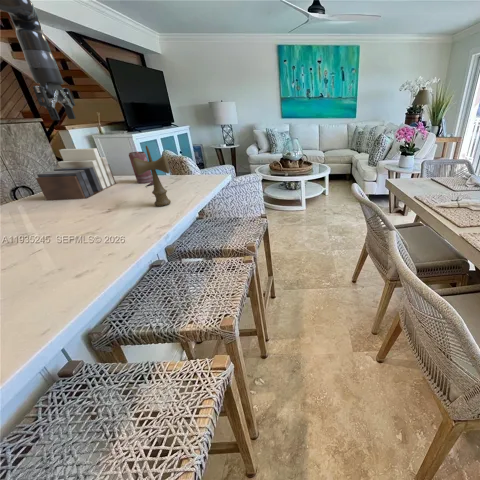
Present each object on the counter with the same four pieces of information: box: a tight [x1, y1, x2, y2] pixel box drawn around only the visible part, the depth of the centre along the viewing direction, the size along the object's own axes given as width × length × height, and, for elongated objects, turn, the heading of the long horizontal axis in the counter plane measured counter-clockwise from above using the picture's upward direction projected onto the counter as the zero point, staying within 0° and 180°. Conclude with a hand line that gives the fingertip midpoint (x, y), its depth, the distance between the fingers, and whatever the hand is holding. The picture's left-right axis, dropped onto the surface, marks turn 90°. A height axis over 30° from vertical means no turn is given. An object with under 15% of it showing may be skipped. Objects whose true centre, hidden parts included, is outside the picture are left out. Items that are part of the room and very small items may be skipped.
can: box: [128, 150, 154, 187], centre depth 114 cm, size 6×6×14 cm
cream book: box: [58, 147, 110, 187], centre depth 106 cm, size 12×2×15 cm, turn 99°
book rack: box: [35, 156, 118, 202], centre depth 102 cm, size 14×22×12 cm, turn 9°
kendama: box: [133, 145, 172, 207], centre depth 89 cm, size 6×10×20 cm, turn 113°
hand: (64, 119), depth 97 cm, fingers open, 8 cm apart
